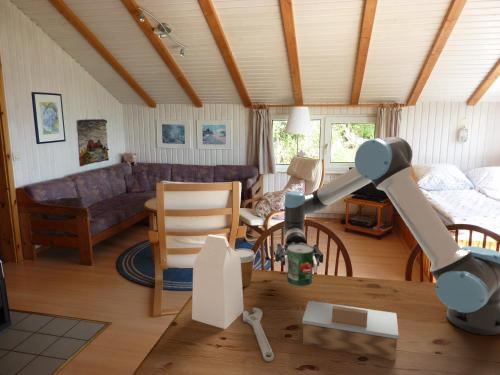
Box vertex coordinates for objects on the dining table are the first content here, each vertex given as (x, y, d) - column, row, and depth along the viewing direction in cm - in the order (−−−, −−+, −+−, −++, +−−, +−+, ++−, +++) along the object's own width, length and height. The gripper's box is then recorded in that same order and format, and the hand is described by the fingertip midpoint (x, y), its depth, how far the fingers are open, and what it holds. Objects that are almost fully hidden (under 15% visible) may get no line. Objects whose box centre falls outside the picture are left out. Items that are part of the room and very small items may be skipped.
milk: (243, 311, 124) (243, 233, 119) (225, 329, 114) (224, 245, 109) (212, 302, 129) (210, 228, 124) (191, 319, 119) (189, 239, 114)
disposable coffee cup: (249, 276, 150) (249, 246, 147) (259, 286, 141) (259, 255, 139) (226, 280, 146) (225, 250, 144) (234, 290, 138) (233, 259, 135)
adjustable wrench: (275, 362, 100) (275, 356, 99) (250, 364, 99) (250, 358, 99) (261, 312, 124) (261, 307, 124) (241, 313, 123) (241, 308, 123)
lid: (396, 316, 109) (397, 300, 108) (398, 339, 98) (399, 321, 97) (308, 303, 116) (309, 288, 115) (302, 323, 105) (302, 306, 104)
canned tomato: (289, 274, 125) (289, 242, 123) (313, 277, 123) (314, 244, 121) (284, 285, 118) (285, 251, 115) (310, 288, 116) (311, 253, 113)
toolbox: (393, 337, 110) (394, 317, 109) (395, 360, 99) (397, 339, 98) (308, 323, 117) (309, 305, 116) (302, 344, 107) (303, 324, 105)
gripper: (324, 252, 137) (335, 280, 115) (266, 251, 138) (266, 279, 116) (325, 232, 136) (337, 256, 113) (266, 231, 137) (266, 255, 114)
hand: (301, 268), depth 115 cm, fingers closed on canned tomato, 8 cm apart
